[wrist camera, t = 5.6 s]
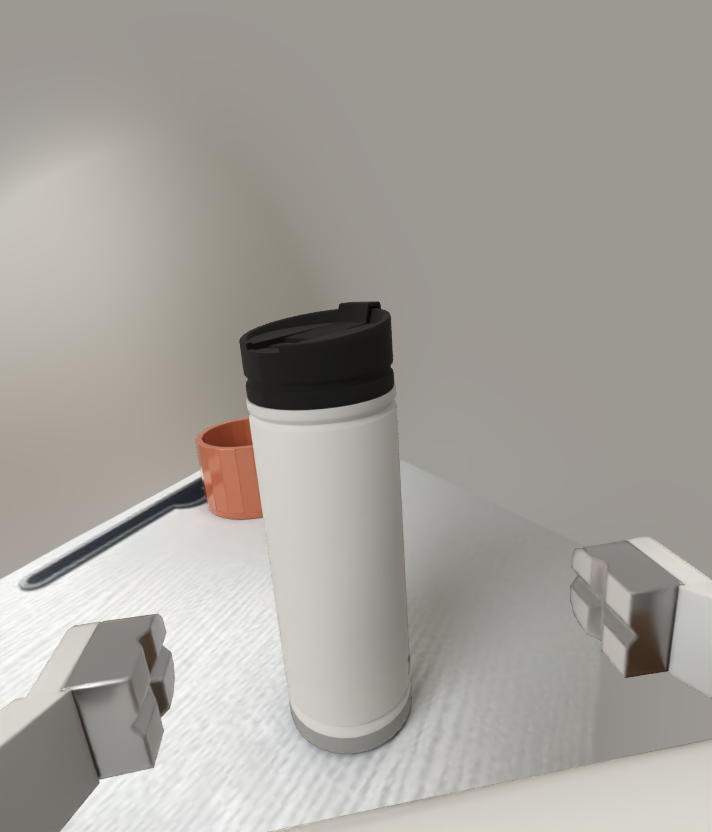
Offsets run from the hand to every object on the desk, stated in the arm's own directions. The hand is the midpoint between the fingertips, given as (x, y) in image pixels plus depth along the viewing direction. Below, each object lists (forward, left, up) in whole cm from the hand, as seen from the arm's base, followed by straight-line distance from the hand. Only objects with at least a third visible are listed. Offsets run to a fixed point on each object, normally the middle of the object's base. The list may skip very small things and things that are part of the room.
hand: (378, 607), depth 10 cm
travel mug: (-4, -12, -15) cm, 20 cm away
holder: (-6, -39, -15) cm, 42 cm away
